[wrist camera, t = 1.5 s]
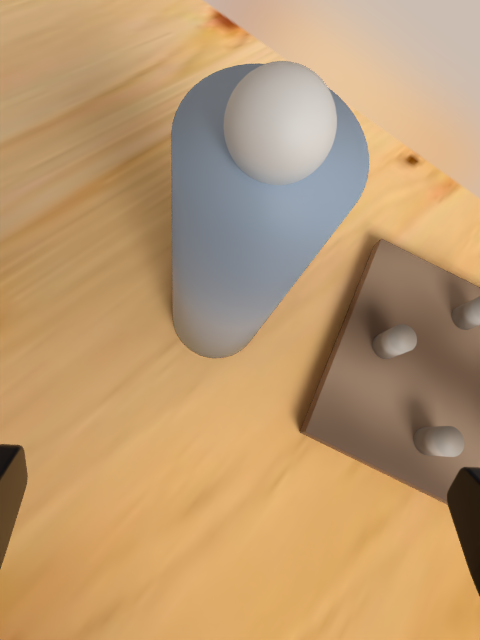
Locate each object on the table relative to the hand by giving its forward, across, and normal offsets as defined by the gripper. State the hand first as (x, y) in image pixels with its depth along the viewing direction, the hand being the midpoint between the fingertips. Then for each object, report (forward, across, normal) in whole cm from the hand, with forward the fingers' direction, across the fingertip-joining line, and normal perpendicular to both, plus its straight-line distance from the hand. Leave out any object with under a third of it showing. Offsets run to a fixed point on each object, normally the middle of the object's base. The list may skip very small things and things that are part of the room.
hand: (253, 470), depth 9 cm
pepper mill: (+14, 0, +4) cm, 15 cm away
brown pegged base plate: (+12, -12, +6) cm, 19 cm away
